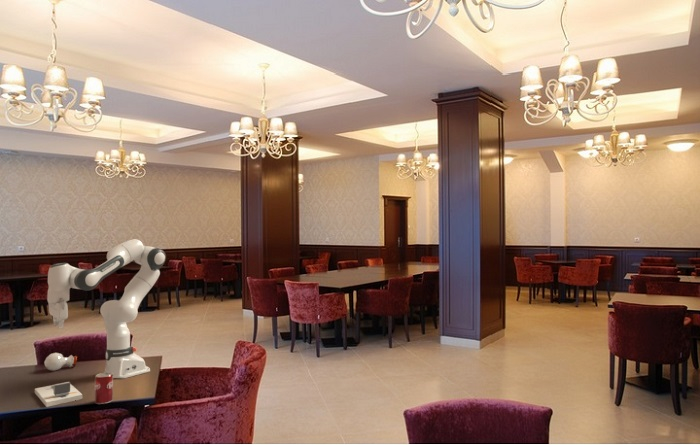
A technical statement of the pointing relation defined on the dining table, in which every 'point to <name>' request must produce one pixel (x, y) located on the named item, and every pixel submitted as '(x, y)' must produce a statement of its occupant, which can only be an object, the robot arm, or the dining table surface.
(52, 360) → the potion bottle
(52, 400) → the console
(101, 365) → the dining table surface
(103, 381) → the soda can
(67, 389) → the fader
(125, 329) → the robot arm
